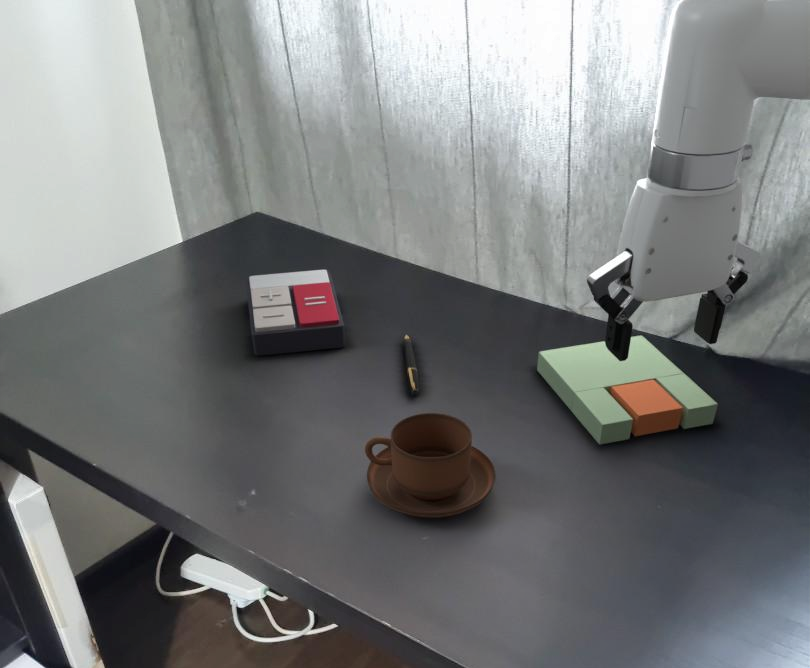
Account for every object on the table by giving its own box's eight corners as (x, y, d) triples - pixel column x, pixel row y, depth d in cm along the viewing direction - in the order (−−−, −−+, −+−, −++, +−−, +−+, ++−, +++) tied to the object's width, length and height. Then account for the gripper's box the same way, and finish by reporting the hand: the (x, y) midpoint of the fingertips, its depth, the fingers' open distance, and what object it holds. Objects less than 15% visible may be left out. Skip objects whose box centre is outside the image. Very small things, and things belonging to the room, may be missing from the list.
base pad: (638, 353, 98) (641, 334, 96) (712, 423, 86) (718, 404, 85) (536, 370, 95) (538, 351, 94) (599, 444, 84) (602, 424, 82)
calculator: (250, 328, 96) (244, 271, 107) (255, 361, 99) (249, 302, 110) (344, 319, 97) (329, 264, 108) (346, 351, 100) (331, 294, 111)
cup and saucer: (376, 536, 73) (373, 480, 69) (361, 459, 82) (357, 406, 78) (507, 522, 74) (512, 466, 70) (479, 447, 83) (481, 394, 79)
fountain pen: (401, 339, 102) (401, 328, 101) (411, 339, 102) (411, 328, 101) (410, 400, 91) (410, 388, 90) (421, 400, 91) (421, 388, 90)
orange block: (649, 399, 90) (653, 379, 88) (678, 428, 86) (683, 407, 84) (607, 407, 89) (611, 386, 87) (634, 436, 85) (638, 415, 83)
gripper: (756, 140, 75) (717, 316, 86) (581, 165, 72) (564, 344, 83) (809, 164, 70) (760, 348, 81) (622, 192, 66) (598, 379, 78)
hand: (661, 346), depth 82 cm, fingers open, 9 cm apart
